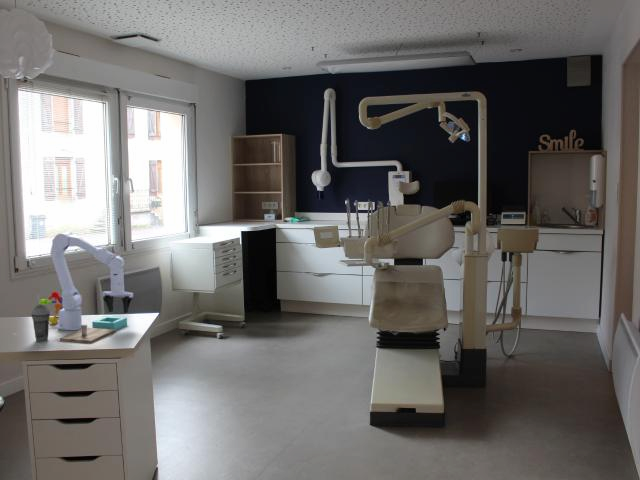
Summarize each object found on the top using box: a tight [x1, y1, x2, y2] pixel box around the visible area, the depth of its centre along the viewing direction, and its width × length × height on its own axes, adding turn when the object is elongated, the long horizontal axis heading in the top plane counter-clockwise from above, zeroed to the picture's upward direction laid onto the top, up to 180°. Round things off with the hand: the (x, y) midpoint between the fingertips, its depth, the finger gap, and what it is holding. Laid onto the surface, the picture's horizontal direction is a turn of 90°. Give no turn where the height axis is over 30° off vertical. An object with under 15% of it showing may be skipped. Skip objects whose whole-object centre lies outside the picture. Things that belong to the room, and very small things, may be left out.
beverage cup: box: [30, 293, 51, 343], centre depth 269 cm, size 7×7×20 cm
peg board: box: [59, 324, 117, 344], centre depth 277 cm, size 15×19×6 cm
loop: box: [91, 316, 128, 331], centre depth 293 cm, size 11×11×4 cm
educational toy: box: [39, 291, 64, 325], centre depth 304 cm, size 16×13×15 cm
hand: (118, 312), depth 292 cm, fingers open, 7 cm apart
